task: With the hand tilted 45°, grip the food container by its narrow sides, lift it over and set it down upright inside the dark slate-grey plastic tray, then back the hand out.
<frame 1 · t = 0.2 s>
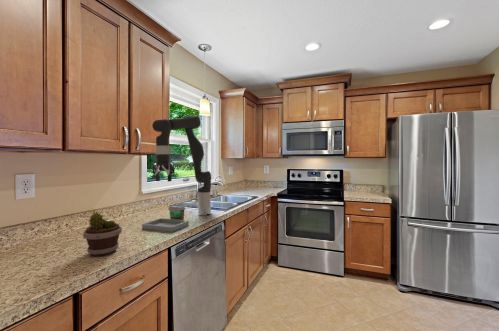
hand: (163, 181, 141), 29 cm above the countertop, tool pointing down, fingers open, 8 cm apart
flowerpot: (103, 252, 108), on the countertop
tray: (166, 227, 149), on the countertop
food container: (175, 221, 163), on the countertop
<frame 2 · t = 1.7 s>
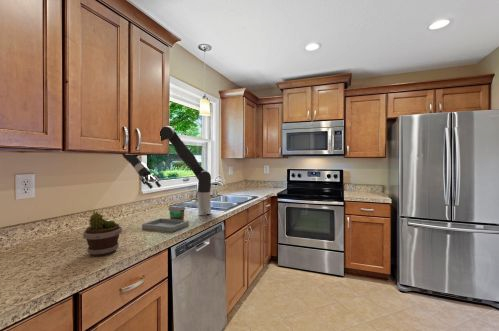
hand: (156, 187, 167), 23 cm above the countertop, tool tilted 45°, fingers open, 8 cm apart
nothing on the countertop moved.
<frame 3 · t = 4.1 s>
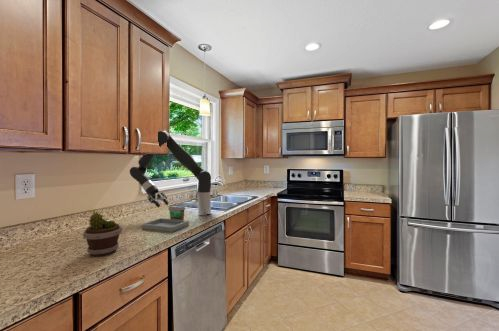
hand: (163, 205, 166), 10 cm above the countertop, tool tilted 45°, fingers open, 8 cm apart
nothing on the countertop moved.
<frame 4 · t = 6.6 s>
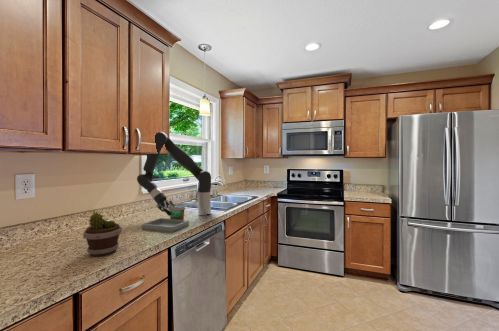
hand: (172, 213, 164), 5 cm above the countertop, tool tilted 45°, fingers closed on food container, 5 cm apart
food container: (175, 221, 163), on the countertop, touching gripper
everything else where it was.
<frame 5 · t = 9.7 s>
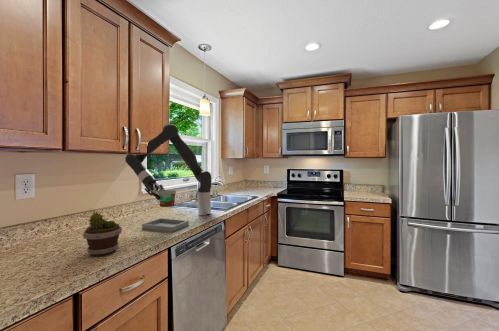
hand: (162, 198, 149), 18 cm above the countertop, tool tilted 45°, fingers closed on food container, 5 cm apart
food container: (164, 206, 148), point 13 cm above the countertop, touching gripper
everything else where it was.
when the fingers open (7 cm above the countertop, at t = 12.5 s): food container drops 1 cm, resting on tray.
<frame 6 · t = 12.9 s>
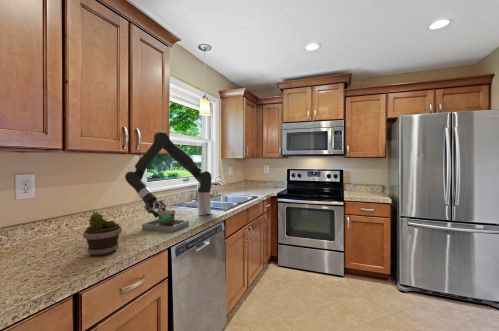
hand: (162, 215, 149), 7 cm above the countertop, tool tilted 45°, fingers open, 8 cm apart
food container: (164, 226, 148), resting on tray
everything else where it was.
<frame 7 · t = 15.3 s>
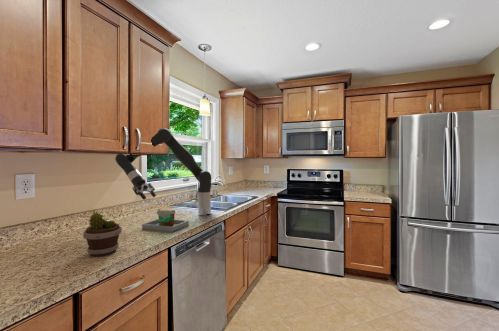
hand: (150, 197, 154), 18 cm above the countertop, tool tilted 40°, fingers open, 8 cm apart
nothing on the countertop moved.
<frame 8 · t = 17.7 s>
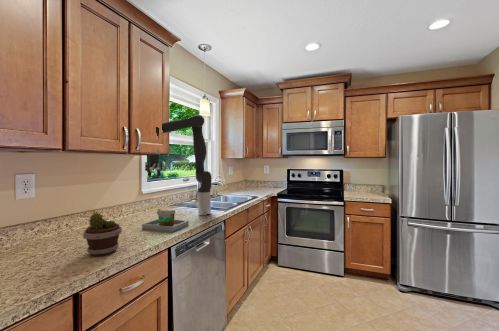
hand: (154, 176, 168), 30 cm above the countertop, tool pointing down, fingers open, 8 cm apart
nothing on the countertop moved.
at the end: food container inside the target area on the tray (1.1 cm from its centre), point 0.4 cm above the tray's base; food container tilted 0°; the gripper is holding nothing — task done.
